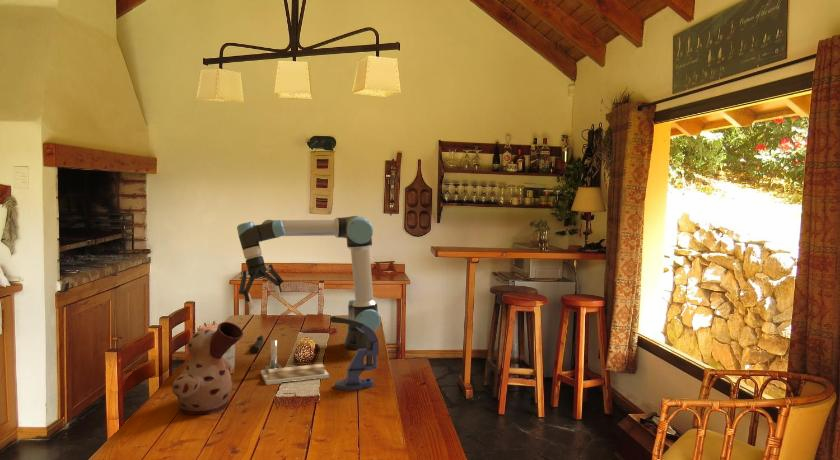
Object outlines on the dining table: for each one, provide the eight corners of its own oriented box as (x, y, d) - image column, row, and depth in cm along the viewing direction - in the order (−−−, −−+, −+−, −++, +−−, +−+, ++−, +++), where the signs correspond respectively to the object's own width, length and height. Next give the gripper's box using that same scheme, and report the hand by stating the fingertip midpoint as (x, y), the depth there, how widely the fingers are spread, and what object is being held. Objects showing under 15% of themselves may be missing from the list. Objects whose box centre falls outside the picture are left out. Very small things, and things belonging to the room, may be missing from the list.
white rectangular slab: (320, 367, 246) (320, 364, 246) (329, 378, 233) (329, 374, 233) (260, 373, 236) (261, 370, 236) (266, 385, 223) (266, 381, 223)
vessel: (196, 391, 214) (196, 312, 212) (255, 393, 214) (255, 314, 212) (159, 422, 186) (158, 331, 183) (226, 424, 185) (227, 333, 183)
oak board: (322, 370, 237) (322, 363, 237) (324, 373, 233) (324, 366, 233) (268, 376, 228) (268, 369, 228) (269, 379, 224) (269, 372, 224)
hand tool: (258, 354, 263) (258, 344, 263) (249, 354, 263) (249, 344, 263) (267, 343, 282) (267, 334, 282) (259, 343, 282) (259, 334, 282)
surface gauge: (279, 368, 238) (280, 338, 237) (283, 374, 231) (283, 343, 230) (265, 370, 236) (265, 339, 235) (268, 376, 228) (268, 344, 227)
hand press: (375, 381, 230) (377, 313, 228) (379, 388, 222) (380, 317, 220) (328, 383, 226) (329, 314, 224) (330, 391, 217) (331, 319, 215)
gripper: (275, 252, 260) (287, 297, 260) (223, 265, 244) (235, 313, 243) (282, 250, 254) (295, 296, 254) (229, 262, 238) (242, 311, 238)
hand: (266, 304), depth 249 cm, fingers open, 13 cm apart
